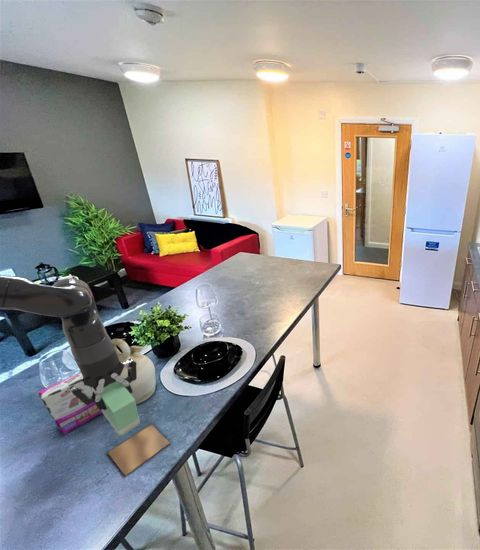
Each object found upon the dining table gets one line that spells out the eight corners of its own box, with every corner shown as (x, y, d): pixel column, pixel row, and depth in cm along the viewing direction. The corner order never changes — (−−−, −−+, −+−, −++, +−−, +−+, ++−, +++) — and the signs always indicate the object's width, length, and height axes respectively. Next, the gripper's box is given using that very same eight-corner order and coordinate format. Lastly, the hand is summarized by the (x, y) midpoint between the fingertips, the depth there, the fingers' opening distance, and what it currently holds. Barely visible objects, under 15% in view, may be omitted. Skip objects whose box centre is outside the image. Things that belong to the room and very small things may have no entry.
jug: (147, 373, 118) (129, 322, 108) (168, 389, 112) (151, 336, 101) (101, 398, 106) (76, 343, 96) (122, 418, 99) (97, 361, 89)
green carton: (112, 413, 75) (93, 387, 78) (120, 437, 82) (102, 412, 85) (135, 399, 79) (116, 375, 82) (140, 424, 86) (122, 401, 89)
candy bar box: (100, 405, 104) (83, 370, 97) (105, 412, 101) (89, 376, 94) (57, 428, 95) (36, 391, 88) (62, 436, 93) (40, 398, 86)
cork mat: (125, 476, 82) (125, 475, 82) (108, 453, 88) (107, 452, 88) (170, 443, 92) (169, 442, 92) (151, 424, 97) (151, 424, 97)
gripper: (122, 334, 81) (139, 380, 88) (51, 363, 70) (78, 413, 77) (134, 344, 77) (151, 391, 84) (62, 376, 66) (88, 427, 73)
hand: (116, 401), depth 81 cm, fingers closed on green carton, 5 cm apart
